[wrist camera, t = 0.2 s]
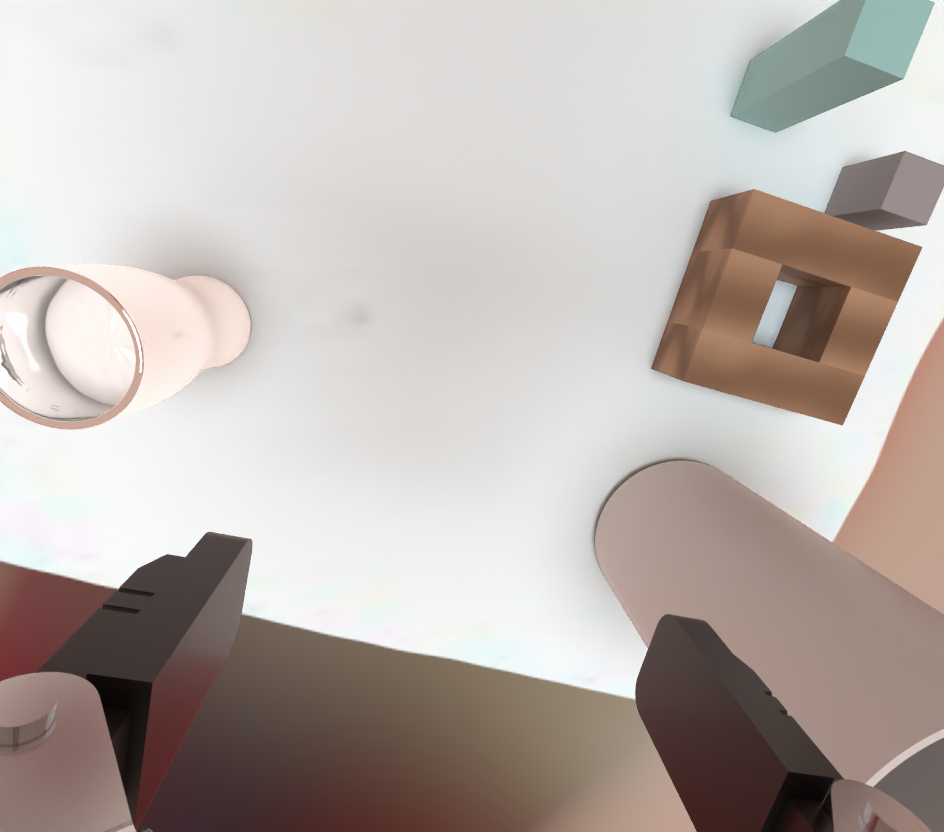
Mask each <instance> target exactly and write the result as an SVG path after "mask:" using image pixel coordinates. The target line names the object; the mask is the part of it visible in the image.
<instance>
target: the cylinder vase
mask: <svg viewBox="0 0 944 832" xmlns="http://www.w3.org/2000/svg"><path fill="white" fill-rule="evenodd" d="M595 550H596V557H597V561H598V564H599V567H600V569H601V571H602V573H603V575H604V577H605V579H606V580H607V582H608V584H609V585H610V587H611V589H612V590H613V592H614V593H615V595H616V597H617V598H618V600H619V602H620V603H621V605H622V607H623V608H624V610H625V612H626V613H627V615H628V617H629V618H630V620H631V621H632V623H633V625H634V626H635V628H636V630H637V631H638V633H639V635H640V636H641V638H642V640H643V641H644V643H645V645H646V646H647V648H649V645H650V643H651V640H652V637H653V635H654V632H655V629H656V627H657V624H658V622H659V620H660V619H661V618H662V616H664V615H666V614H672V615H678V616H683V617H689V618H695V619H700V620H704V621H706V622H707V623H708V624H709V625H710V626H711V627H712V629H713V630H714V631H715V632H716V633H717V635H718V636H719V637H720V638H721V640H722V641H723V642H724V643H725V644H726V646H727V647H728V648H729V649H730V651H731V652H732V653H733V654H734V655H735V656H736V657H738V658H739V659H740V660H741V661H743V662H744V663H745V664H746V665H748V666H749V667H750V668H751V669H752V670H754V671H755V673H756V674H757V675H758V676H759V677H760V679H761V680H762V681H763V682H764V683H765V685H766V686H767V687H768V688H769V689H770V691H771V692H772V696H773V697H776V698H777V699H778V700H779V701H780V703H781V704H782V705H783V706H784V707H785V709H786V710H787V714H788V715H789V716H792V717H793V718H794V719H795V721H796V722H797V723H798V724H799V725H800V727H801V728H802V729H803V730H804V731H805V733H806V734H807V735H808V736H809V737H810V739H811V740H812V741H813V742H814V743H815V745H816V746H817V747H818V748H819V749H820V751H821V752H822V753H823V754H824V755H825V757H826V758H827V759H828V760H829V761H830V763H831V764H832V765H833V766H834V767H835V769H836V770H837V771H838V772H839V773H840V775H841V776H842V777H843V778H844V779H849V780H855V781H858V782H861V783H864V784H867V785H869V786H872V787H874V788H876V789H878V790H880V791H882V792H883V793H885V794H887V795H888V796H890V797H892V798H893V799H895V800H896V801H898V802H899V803H900V804H902V805H903V806H904V807H906V808H907V809H908V810H910V811H911V812H912V813H913V814H914V815H916V816H917V817H918V818H919V819H920V820H921V821H922V822H923V823H924V824H925V825H926V826H927V827H928V828H929V829H930V830H931V831H932V832H944V615H943V614H942V613H940V612H939V611H937V610H936V609H934V608H933V607H931V606H930V605H928V604H926V603H925V602H923V601H922V600H920V599H919V598H917V597H916V596H914V595H913V594H911V593H909V592H908V591H906V590H905V589H903V588H902V587H900V586H898V585H897V584H895V583H894V582H892V581H891V580H889V579H888V578H886V577H884V576H883V575H881V574H880V573H878V572H877V571H875V570H874V569H872V568H871V567H869V566H868V565H866V564H864V563H863V562H861V561H860V560H858V559H857V558H855V557H854V556H852V555H850V554H849V553H847V552H846V551H844V550H842V549H841V548H840V547H838V546H837V545H835V544H833V543H832V542H830V541H829V540H827V539H826V538H824V537H823V536H821V535H819V534H818V533H816V532H815V531H813V530H812V529H810V528H809V527H807V526H806V525H804V524H802V523H801V522H799V521H798V520H796V519H795V518H793V517H792V516H790V515H788V514H787V513H785V512H784V511H782V510H781V509H779V508H778V507H776V506H775V505H773V504H771V503H770V502H768V501H767V500H765V499H764V498H762V497H761V496H759V495H757V494H756V493H754V492H753V491H751V490H750V489H748V488H747V487H745V486H744V485H742V484H740V483H739V482H737V481H736V480H734V479H733V478H731V477H730V476H728V475H726V474H725V473H723V472H722V471H720V470H718V469H716V468H714V467H712V466H710V465H707V464H704V463H700V462H695V461H683V460H680V461H669V462H664V463H660V464H656V465H653V466H650V467H648V468H646V469H644V470H642V471H640V472H638V473H636V474H635V475H633V476H632V477H630V478H629V479H628V480H626V481H625V482H624V483H623V484H622V485H621V486H620V487H619V488H618V489H617V490H616V491H615V492H614V493H613V495H612V496H611V497H610V499H609V500H608V502H607V503H606V505H605V507H604V508H603V511H602V513H601V515H600V518H599V521H598V524H597V529H596V535H595Z"/></svg>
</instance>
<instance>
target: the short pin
mask: <svg viewBox="0 0 944 832" xmlns="http://www.w3.org/2000/svg"><path fill="white" fill-rule="evenodd" d="M943 187H944V165H941V164H938V163H936V162H933V161H930V160H928V159H925V158H922V157H920V156H917V155H914V154H912V153H909V152H906V151H903V152H900V153H896V154H892V155H888V156H885V157H881V158H877V159H873V160H869V161H866V162H862V163H858V164H854V165H851V166H847V167H843V168H842V170H841V173H840V175H839V178H838V180H837V183H836V185H835V188H834V190H833V193H832V195H831V198H830V200H829V203H828V205H827V208H826V210H825V214H827V215H830V216H833V217H836V218H839V219H842V220H845V221H848V222H851V223H854V224H857V225H859V226H862V227H865V228H868V229H871V230H874V231H875V230H885V229H894V228H903V227H913V226H922V225H927V223H928V221H929V219H930V216H931V214H932V212H933V210H934V207H935V205H936V203H937V201H938V198H939V196H940V194H941V192H942V189H943Z"/></svg>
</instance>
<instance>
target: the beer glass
mask: <svg viewBox="0 0 944 832" xmlns="http://www.w3.org/2000/svg"><path fill="white" fill-rule="evenodd" d="M250 332H251V321H250V315H249V312H248V309H247V307H246V305H245V303H244V301H243V300H242V298H241V297H240V296H239V295H238V293H237V292H236V291H235V290H234V289H232V288H231V287H230V286H228V285H227V284H225V283H224V282H222V281H220V280H218V279H215V278H212V277H208V276H201V275H195V276H187V277H183V278H180V279H177V280H173V279H170V278H168V277H165V276H162V275H160V274H157V273H154V272H150V271H147V270H143V269H139V268H135V267H130V266H122V265H113V264H74V265H62V266H53V267H30V268H24V269H20V270H16V271H14V272H11V273H8V274H6V275H4V276H2V277H1V278H0V401H1V402H2V403H3V404H4V405H5V406H7V407H8V408H9V409H11V410H12V411H14V412H15V413H17V414H18V415H20V416H22V417H24V418H26V419H28V420H30V421H32V422H35V423H38V424H41V425H44V426H48V427H52V428H58V429H83V428H89V427H93V426H97V425H100V424H102V423H105V422H107V421H109V420H113V419H117V418H120V417H123V416H127V415H130V414H133V413H136V412H139V411H141V410H144V409H146V408H149V407H151V406H154V405H156V404H158V403H160V402H162V401H163V400H165V399H167V398H169V397H171V396H173V395H174V394H176V393H177V392H178V391H180V390H181V389H182V388H183V387H185V386H186V385H187V384H188V383H190V382H191V381H192V380H193V379H194V378H195V377H196V376H197V375H198V374H199V373H200V371H201V370H202V369H203V368H215V367H220V366H223V365H226V364H228V363H230V362H232V361H233V360H234V359H236V358H237V357H238V356H239V355H240V354H241V353H242V351H243V350H244V349H245V347H246V345H247V343H248V340H249V337H250Z"/></svg>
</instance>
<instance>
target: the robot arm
mask: <svg viewBox="0 0 944 832" xmlns="http://www.w3.org/2000/svg"><path fill="white" fill-rule="evenodd" d="M251 553H252V540H251V539H247V538H242V537H236V536H230V535H225V534H219V533H213V532H207V533H206V534H205V535H204V536H203V537H202V538H201V540H200V541H199V542H198V543H197V544H196V546H195V547H194V548H193V549H192V550H191V551H190V553H189V554H188V555H187V556H186V557H180V556H174V555H168V554H167V555H165V556H163V557H160V558H158V559H156V560H154V561H152V562H150V563H148V564H146V565H144V566H142V567H140V568H138V569H137V570H136V571H135V572H134V573H133V574H132V575H131V576H130V577H129V578H128V579H127V580H126V581H125V582H124V583H123V585H122V586H121V587H120V588H119V591H118V592H115V593H114V594H113V595H112V596H111V597H110V598H109V599H108V600H107V601H106V602H105V603H104V604H103V607H102V609H100V608H99V609H98V610H97V611H96V612H95V613H94V614H93V615H92V616H91V617H90V618H89V619H88V620H87V621H86V623H84V624H83V625H82V626H81V627H80V628H79V629H78V631H77V632H75V634H73V636H72V637H71V638H70V639H69V640H68V641H67V642H66V643H65V644H64V645H63V646H62V647H61V648H60V649H59V650H58V651H57V652H56V653H55V654H54V655H53V656H52V657H51V658H50V659H49V660H48V661H47V662H46V663H45V664H44V665H43V666H42V667H41V668H40V669H39V670H38V671H37V672H36V673H31V674H26V675H21V676H17V677H13V678H10V679H6V680H3V681H1V682H0V832H137V831H136V830H137V828H138V826H139V824H140V822H141V820H142V818H143V817H144V815H145V813H146V811H147V809H148V807H149V805H150V803H151V801H152V799H153V797H154V795H155V794H156V792H157V790H158V788H159V786H160V784H161V782H162V780H163V778H164V776H165V774H166V772H167V770H168V769H169V767H170V765H171V763H172V761H173V759H174V757H175V755H176V753H177V751H178V749H179V747H180V746H181V743H182V742H183V740H184V738H185V736H186V734H187V732H188V730H189V728H190V726H191V724H192V722H193V720H194V719H195V717H196V715H197V713H198V711H199V709H200V707H201V705H202V703H203V701H204V699H205V697H206V696H207V693H208V692H209V690H210V688H211V686H212V684H213V682H214V680H215V678H216V676H217V674H218V672H219V671H220V669H221V666H222V665H223V663H224V661H225V659H226V657H227V655H228V653H229V651H230V649H231V647H232V644H233V642H234V639H235V636H236V633H237V629H238V626H239V622H240V618H241V613H242V607H243V601H244V595H245V589H246V583H247V577H248V571H249V566H250V560H251ZM635 695H636V704H637V709H638V712H639V714H640V716H641V718H642V720H643V722H644V725H645V726H646V729H647V731H648V733H649V735H650V737H651V739H652V741H653V743H654V745H655V747H656V749H657V751H658V753H659V755H660V757H661V759H662V761H663V763H664V766H665V767H666V770H667V772H668V774H669V776H670V778H671V780H672V782H673V784H674V786H675V788H676V790H677V792H678V794H679V796H680V798H681V800H682V802H683V804H684V806H685V808H686V810H687V812H688V814H689V816H690V819H691V821H692V822H693V825H694V826H695V829H696V831H697V832H932V831H931V830H930V829H929V828H928V827H927V826H926V825H925V824H924V823H923V822H922V821H921V820H920V819H919V818H918V817H917V816H916V815H914V814H913V813H912V812H911V811H910V810H908V809H907V808H906V807H904V806H903V805H902V804H900V803H899V802H898V801H896V800H895V799H893V798H892V797H890V796H888V795H887V794H885V793H883V792H882V791H880V790H878V789H876V788H874V787H872V786H869V785H867V784H864V783H861V782H858V781H855V780H849V779H844V778H843V777H842V776H841V775H840V773H839V772H838V771H837V770H836V769H835V767H834V766H833V765H832V764H831V763H830V761H829V760H828V759H827V758H826V757H825V755H824V754H823V753H822V752H821V751H820V749H819V748H818V747H817V746H816V745H815V743H814V742H813V741H812V740H811V739H810V737H809V736H808V735H807V734H806V733H805V731H804V730H803V729H802V728H801V727H800V725H799V724H798V723H797V722H796V721H795V719H794V718H793V717H792V716H789V715H788V714H787V710H786V709H785V707H784V706H783V705H782V704H781V703H780V701H779V700H778V699H777V698H776V697H773V696H772V692H771V691H770V689H769V688H768V687H767V686H766V685H765V683H764V682H763V681H762V680H761V679H760V677H759V676H758V675H757V674H756V673H755V671H754V670H752V669H751V668H750V667H749V666H748V665H746V664H745V663H744V662H743V661H741V660H740V659H739V658H738V657H736V656H735V655H734V654H733V653H732V652H731V651H730V649H729V648H728V647H727V646H726V644H725V643H724V642H723V641H722V640H721V638H720V637H719V636H718V635H717V633H716V632H715V631H714V630H713V629H712V627H711V626H710V625H709V624H708V623H707V622H706V621H704V620H700V619H695V618H689V617H683V616H678V615H672V614H666V615H664V616H662V618H661V619H660V620H659V622H658V624H657V627H656V629H655V632H654V635H653V637H652V640H651V643H650V645H649V648H648V651H647V653H646V656H645V659H644V661H643V664H642V667H641V670H640V672H639V675H638V678H637V682H636V691H635ZM138 832H152V830H151V829H150V828H145V829H143V830H140V831H138Z"/></svg>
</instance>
